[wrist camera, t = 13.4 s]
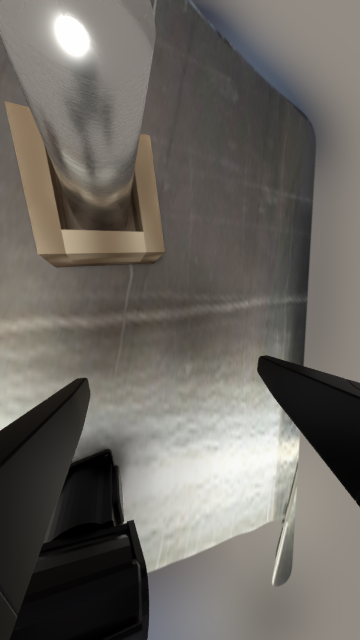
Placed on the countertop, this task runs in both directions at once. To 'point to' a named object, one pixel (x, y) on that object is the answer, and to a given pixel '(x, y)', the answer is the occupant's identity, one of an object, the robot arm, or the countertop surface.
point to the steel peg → (85, 93)
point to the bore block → (56, 215)
